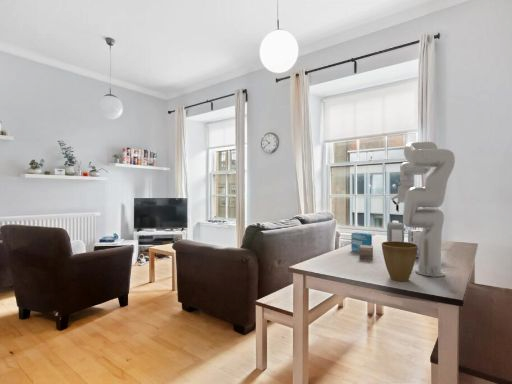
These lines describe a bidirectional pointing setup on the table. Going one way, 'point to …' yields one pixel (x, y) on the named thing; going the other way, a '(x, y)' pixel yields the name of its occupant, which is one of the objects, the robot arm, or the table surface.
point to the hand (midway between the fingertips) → (406, 212)
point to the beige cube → (366, 252)
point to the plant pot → (399, 259)
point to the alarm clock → (395, 231)
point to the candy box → (414, 239)
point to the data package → (360, 240)
